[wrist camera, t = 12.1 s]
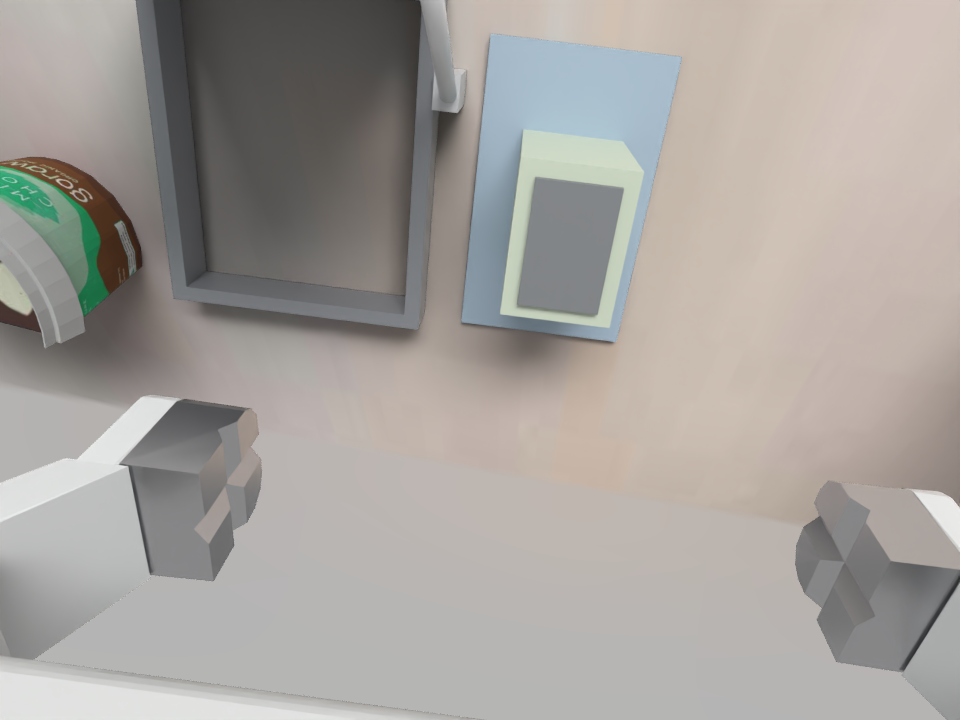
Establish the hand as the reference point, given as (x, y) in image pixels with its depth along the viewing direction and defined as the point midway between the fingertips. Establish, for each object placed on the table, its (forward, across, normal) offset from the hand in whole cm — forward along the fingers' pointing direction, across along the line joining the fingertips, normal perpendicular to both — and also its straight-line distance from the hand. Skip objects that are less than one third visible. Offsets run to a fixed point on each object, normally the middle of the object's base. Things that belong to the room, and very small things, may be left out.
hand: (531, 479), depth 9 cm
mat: (+27, -2, +3) cm, 27 cm away
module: (+27, -2, +3) cm, 27 cm away
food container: (+27, +26, +6) cm, 38 cm away
